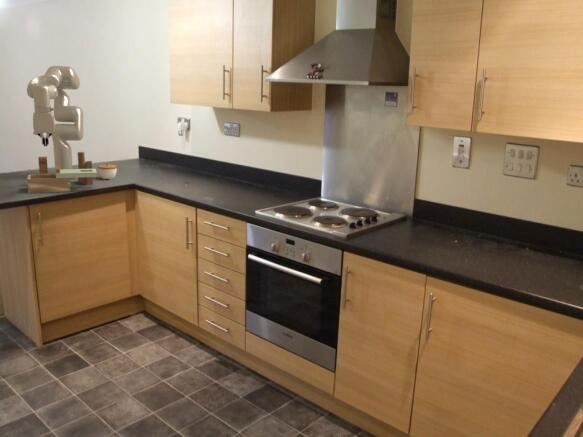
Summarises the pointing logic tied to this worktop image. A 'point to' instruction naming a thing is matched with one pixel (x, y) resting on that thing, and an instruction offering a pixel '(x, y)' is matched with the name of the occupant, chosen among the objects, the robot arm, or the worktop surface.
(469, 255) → the worktop surface
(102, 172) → the lidded jar
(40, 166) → the key peg
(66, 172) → the toolbox lid
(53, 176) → the base
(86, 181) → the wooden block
